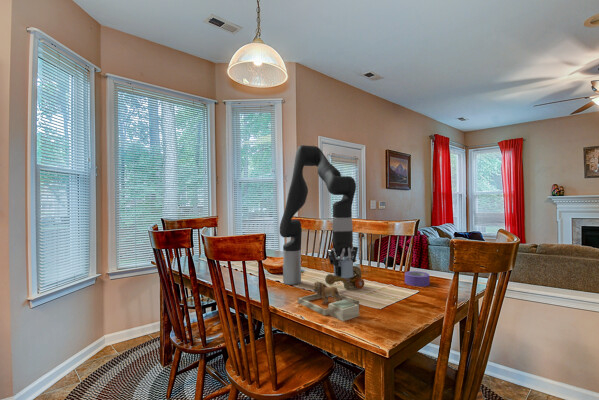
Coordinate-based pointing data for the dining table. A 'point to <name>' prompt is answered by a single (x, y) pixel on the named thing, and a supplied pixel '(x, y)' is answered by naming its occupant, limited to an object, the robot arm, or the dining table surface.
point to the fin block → (346, 268)
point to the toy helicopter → (347, 279)
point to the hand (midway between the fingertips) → (343, 275)
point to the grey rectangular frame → (334, 307)
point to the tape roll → (417, 278)
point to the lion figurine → (326, 291)
